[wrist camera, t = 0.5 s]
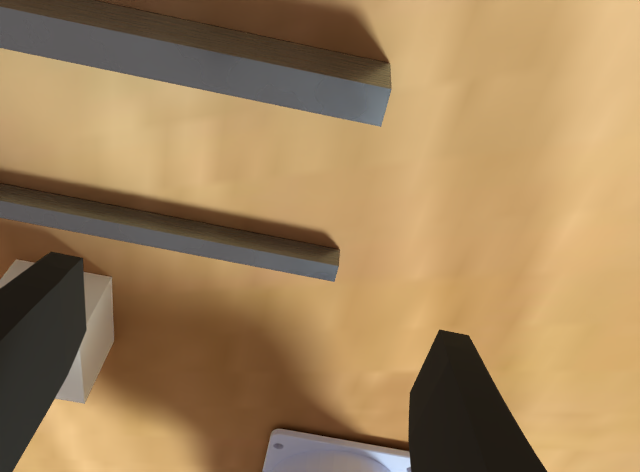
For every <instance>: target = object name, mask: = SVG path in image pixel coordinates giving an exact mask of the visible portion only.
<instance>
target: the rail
mask: <svg viewBox="0 0 640 472" xmlns="http://www.w3.org/2000/svg"><path fill="white" fill-rule="evenodd" d="M0 48H4V49H8V50H13V51H18V52H23V53H28V54H33V55H37V56H42V57H47V58H52V59H57V60H62V61H66V62H71V63H76V64H81V65H86V66H91V67H95V68H100V69H105V70H110V71H115V72H120V73H124V74H129V75H134V76H139V77H144V78H149V79H153V80H158V81H163V82H168V83H173V84H178V85H182V86H187V87H192V88H197V89H202V90H207V91H211V92H216V93H221V94H226V95H231V96H235V97H240V98H245V99H250V100H255V101H260V102H264V103H269V104H274V105H279V106H284V107H289V108H293V109H298V110H303V111H308V112H313V113H318V114H322V115H327V116H332V117H337V118H342V119H347V120H351V121H356V122H361V123H366V124H371V125H376V126H380V127H381V125H382V121H383V118H384V114H385V110H386V107H387V103H388V100H389V96H390V92H391V72H390V63H386V62H381V61H377V60H372V59H367V58H363V57H358V56H353V55H348V54H344V53H339V52H334V51H330V50H325V49H320V48H316V47H311V46H306V45H302V44H297V43H292V42H287V41H283V40H278V39H273V38H269V37H264V36H259V35H255V34H250V33H245V32H241V31H236V30H231V29H226V28H222V27H217V26H212V25H208V24H203V23H198V22H194V21H189V20H184V19H179V18H175V17H170V16H165V15H161V14H156V13H151V12H147V11H142V10H137V9H133V8H128V7H123V6H118V5H114V4H109V3H104V2H100V1H95V0H0ZM0 218H5V219H10V220H15V221H21V222H26V223H31V224H36V225H42V226H47V227H52V228H57V229H62V230H68V231H73V232H78V233H83V234H88V235H94V236H99V237H104V238H109V239H115V240H120V241H125V242H130V243H135V244H141V245H146V246H151V247H156V248H161V249H167V250H172V251H177V252H182V253H187V254H193V255H198V256H203V257H208V258H214V259H219V260H224V261H229V262H234V263H240V264H245V265H250V266H255V267H260V268H266V269H271V270H276V271H281V272H286V273H292V274H297V275H302V276H307V277H313V278H318V279H323V280H328V281H333V282H334V281H335V278H336V274H337V270H338V267H339V255H340V250H339V249H334V248H329V247H324V246H319V245H313V244H308V243H303V242H298V241H293V240H288V239H283V238H278V237H272V236H267V235H262V234H257V233H252V232H247V231H242V230H237V229H231V228H226V227H221V226H216V225H211V224H206V223H201V222H195V221H190V220H185V219H180V218H175V217H170V216H165V215H160V214H154V213H149V212H144V211H139V210H134V209H129V208H124V207H119V206H113V205H108V204H103V203H98V202H93V201H88V200H83V199H77V198H72V197H67V196H62V195H57V194H52V193H47V192H42V191H36V190H31V189H26V188H21V187H16V186H11V185H6V184H1V183H0Z"/></svg>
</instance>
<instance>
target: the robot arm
mask: <svg viewBox="0 0 640 472" xmlns="http://www.w3.org/2000/svg"><path fill="white" fill-rule="evenodd" d="M86 331H87V327H86V309H85V291H84V273H83V258H80V257H75V256H70V255H65V254H60V253H55V252H50V253H49V254H47V255H46V256H44V257H43V258H41V259H40V260H39V261H37V262H36V263H34V264H33V265H32V266H30V267H29V268H28V269H26V270H25V271H23V272H22V273H21V274H19V275H18V276H17V277H15V278H14V279H13V280H11V281H10V282H8V283H7V284H6V285H4V286H3V287H1V288H0V472H13V470H14V468H15V466H16V465H17V463H18V461H19V459H20V458H21V456H22V454H23V453H24V451H25V449H26V447H27V446H28V444H29V442H30V440H31V439H32V437H33V435H34V434H35V432H36V430H37V428H38V427H39V425H40V423H41V421H42V420H43V418H44V416H45V415H46V413H47V411H48V409H49V408H50V406H51V404H52V402H53V401H54V399H55V397H56V395H57V394H58V392H59V390H60V388H61V387H62V385H63V383H64V381H65V379H66V378H67V376H68V374H69V371H70V369H71V367H72V364H73V362H74V360H75V357H76V355H77V353H78V350H79V348H80V345H81V343H82V340H83V338H84V335H85V333H86ZM262 472H547V470H546V469H545V467H544V466H543V464H542V463H541V461H540V460H539V458H538V457H537V455H536V454H535V452H534V450H533V449H532V447H531V446H530V444H529V442H528V441H527V439H526V438H525V436H524V434H523V432H522V431H521V429H520V427H519V426H518V424H517V422H516V421H515V419H514V417H513V415H512V414H511V412H510V410H509V409H508V407H507V405H506V403H505V402H504V400H503V398H502V396H501V394H500V393H499V391H498V389H497V387H496V385H495V383H494V382H493V380H492V378H491V376H490V374H489V372H488V370H487V369H486V367H485V365H484V363H483V361H482V359H481V357H480V355H479V353H478V352H477V350H476V348H475V346H474V344H473V342H472V340H471V339H470V337H469V335H464V334H459V333H454V332H449V331H444V330H439V332H438V334H437V336H436V338H435V340H434V342H433V344H432V347H431V349H430V351H429V353H428V355H427V357H426V359H425V362H424V364H423V366H422V368H421V370H420V372H419V374H418V377H417V379H416V381H415V383H414V385H413V387H412V389H411V392H410V405H409V451H404V450H399V449H393V448H387V447H382V446H376V445H371V444H365V443H359V442H354V441H348V440H342V439H337V438H331V437H326V436H320V435H314V434H309V433H303V432H297V431H292V430H286V429H275V430H273V431H272V432H271V435H270V440H269V444H268V448H267V452H266V457H265V461H264V465H263V470H262Z"/></svg>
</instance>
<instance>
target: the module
mask: <svg viewBox="0 0 640 472" xmlns="http://www.w3.org/2000/svg"><path fill="white" fill-rule="evenodd" d="M33 264H34V262H29V261H24V260H18V259H16V260H15V261H14V262H13V264H12V265H11V266H10V267H9V269H8V270H7V271H6V273H5V274H4V275H3V277H2V278H1V279H0V288H1V287H3V286H4V285H6V284H7V283H8V282H10V281H11V280H13V279H14V278H15V277H17V276H18V275H19V274H21V273H22V272H23V271H25V270H26V269H28V268H29V267H30V266H32V265H33ZM83 273H84V291H85V309H86V327H87V331H86V333H85V335H84V338H83V340H82V343H81V345H80V348H79V350H78V353H77V355H76V357H75V360H74V362H73V364H72V367H71V369H70V371H69V374H68V376H67V378H66V379H65V381H64V383H63V385H62V387H61V388H60V390H59V392H58V394H57V395H56V397H55V398H56V399H61V400H67V401H73V402H79V403H84V404H85V402H86V400H87V398H88V396H89V394H90V391H91V389H92V387H93V385H94V383H95V381H96V379H97V377H98V374H99V372H100V370H101V368H102V366H103V364H104V362H105V360H106V357H107V355H108V353H109V351H110V349H111V347H112V345H113V343H114V320H113V295H112V277H109V276H104V275H98V274H93V273H88V272H83Z"/></svg>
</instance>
